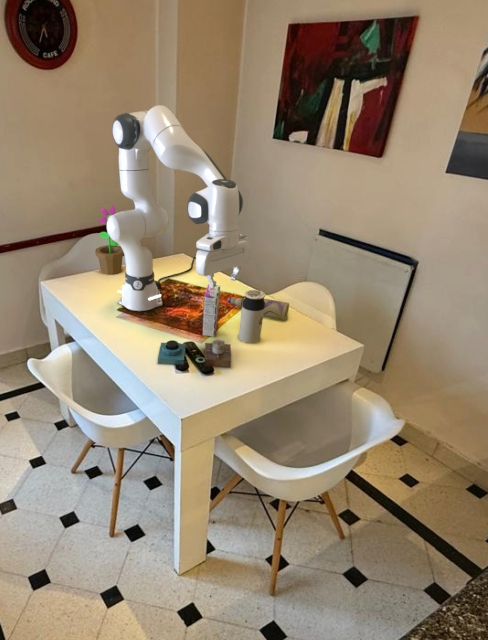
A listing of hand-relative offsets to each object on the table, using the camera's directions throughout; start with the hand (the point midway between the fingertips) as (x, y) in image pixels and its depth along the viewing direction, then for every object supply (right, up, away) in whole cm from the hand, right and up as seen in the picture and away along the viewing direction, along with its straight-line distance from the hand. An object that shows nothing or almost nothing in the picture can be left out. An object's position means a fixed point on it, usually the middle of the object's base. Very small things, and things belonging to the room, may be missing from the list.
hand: (223, 283), depth 146 cm
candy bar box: (-1, -10, +33) cm, 35 cm away
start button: (-16, -19, +15) cm, 29 cm away
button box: (-16, -22, +17) cm, 32 cm away
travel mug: (+13, -14, +28) cm, 34 cm away
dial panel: (0, -23, +16) cm, 28 cm away
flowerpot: (-46, +26, +82) cm, 97 cm away
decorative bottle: (+20, -1, +46) cm, 50 cm away
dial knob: (0, -20, +14) cm, 25 cm away
